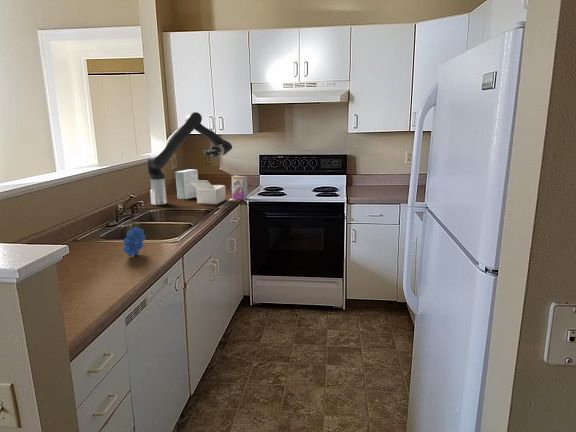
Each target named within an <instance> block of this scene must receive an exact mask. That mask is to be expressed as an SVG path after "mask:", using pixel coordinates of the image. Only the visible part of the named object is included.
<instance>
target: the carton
mask: <svg viewBox="0 0 576 432" xmlns="http://www.w3.org/2000/svg"><path fill="white" fill-rule="evenodd" d="M211 185H212V186H213V187H214V188H215V189H196V197H195V198H196V202H197V203H196V204H198V205H199V204H200V205H201V204H202V205H218V204H221V203H222V202H224V201H226V185H224V184H223V185H222V184H211Z"/></svg>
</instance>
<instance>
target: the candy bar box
mask: <svg viewBox="0 0 576 432" xmlns="http://www.w3.org/2000/svg"><path fill="white" fill-rule="evenodd" d="M230 183H231V199H233V198H237V199H236V200H240V201H241V200H242V201H245V200H248V198H249V197H248V176H243V175H242V176H241V175H232V176H231V182H230Z"/></svg>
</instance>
